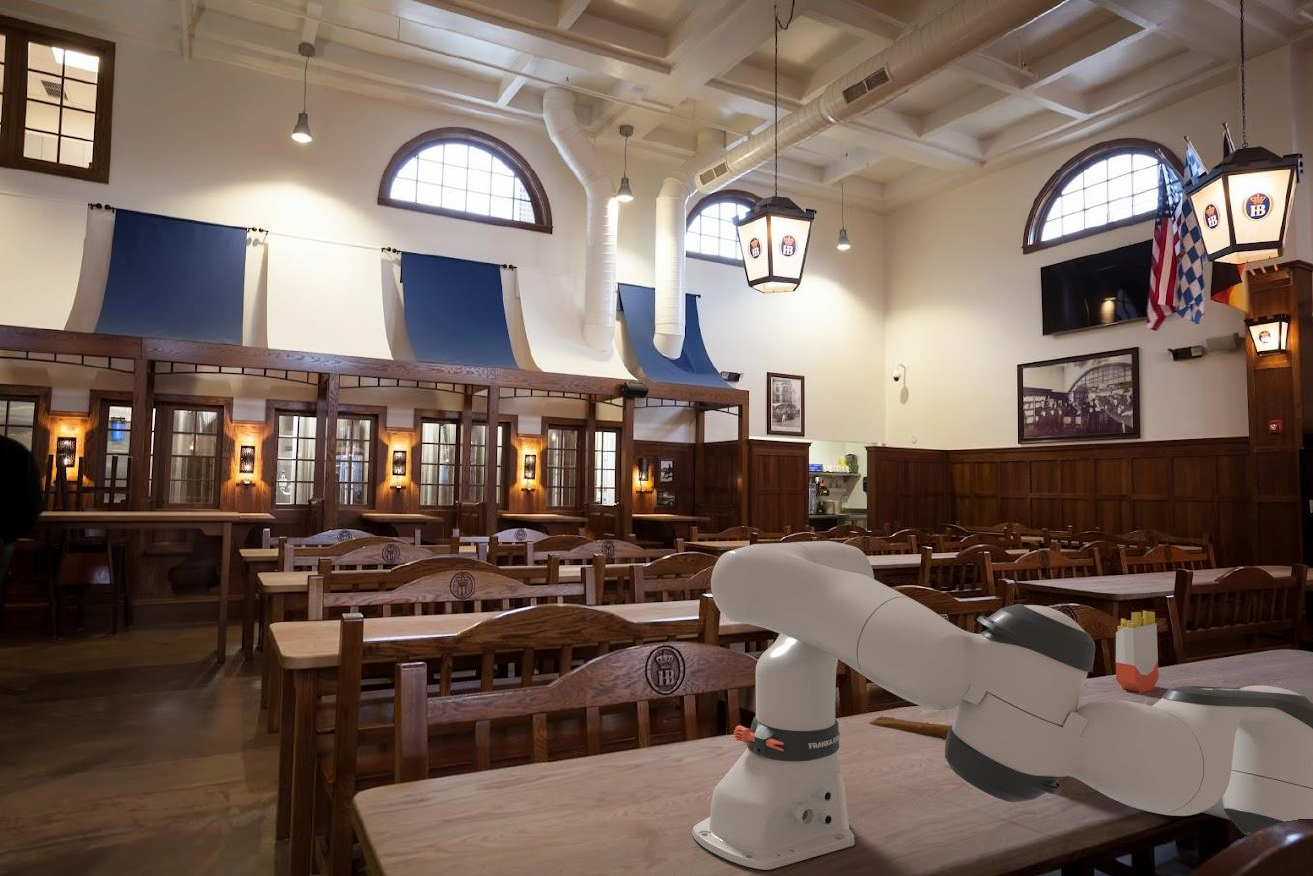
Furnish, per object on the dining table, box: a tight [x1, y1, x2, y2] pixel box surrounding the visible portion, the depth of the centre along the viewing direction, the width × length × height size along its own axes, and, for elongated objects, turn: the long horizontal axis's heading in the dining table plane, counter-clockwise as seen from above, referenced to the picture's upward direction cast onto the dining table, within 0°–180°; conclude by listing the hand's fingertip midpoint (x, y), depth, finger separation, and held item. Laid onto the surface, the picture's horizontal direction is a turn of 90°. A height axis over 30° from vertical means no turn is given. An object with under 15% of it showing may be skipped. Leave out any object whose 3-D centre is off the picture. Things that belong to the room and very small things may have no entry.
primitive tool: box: [868, 715, 953, 739], centre depth 152 cm, size 19×6×4 cm, turn 47°
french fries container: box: [1115, 610, 1160, 693], centre depth 184 cm, size 5×11×18 cm, turn 123°
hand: (1106, 756), depth 120 cm, fingers closed
